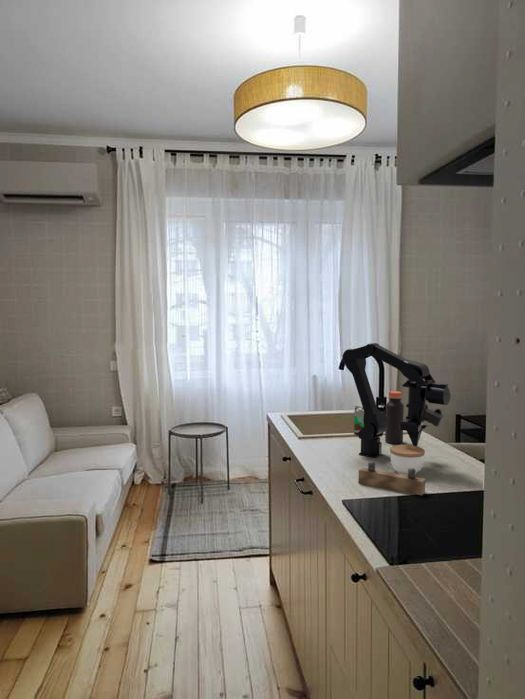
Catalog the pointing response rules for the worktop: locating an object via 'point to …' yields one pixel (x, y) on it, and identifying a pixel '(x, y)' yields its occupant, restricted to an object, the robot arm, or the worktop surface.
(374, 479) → the stop bar
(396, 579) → the worktop surface
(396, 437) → the bottle
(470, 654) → the worktop surface
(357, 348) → the robot arm
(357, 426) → the food container
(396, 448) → the lidded jar
